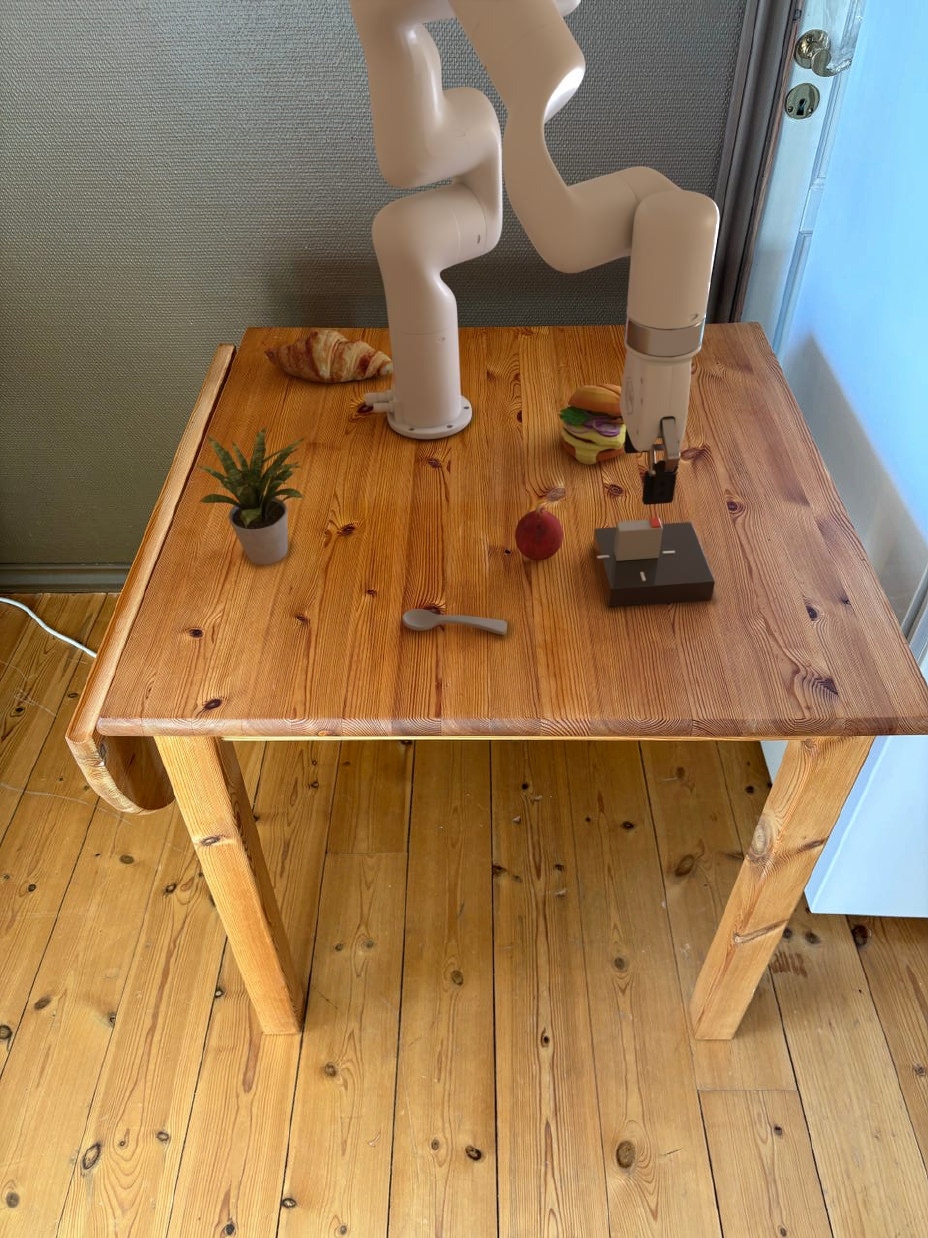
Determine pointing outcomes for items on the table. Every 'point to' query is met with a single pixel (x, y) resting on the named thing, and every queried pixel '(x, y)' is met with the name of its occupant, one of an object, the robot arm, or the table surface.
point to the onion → (539, 534)
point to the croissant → (330, 358)
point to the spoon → (450, 621)
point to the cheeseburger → (594, 423)
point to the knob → (638, 539)
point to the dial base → (655, 570)
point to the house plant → (256, 499)
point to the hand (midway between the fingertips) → (647, 475)
